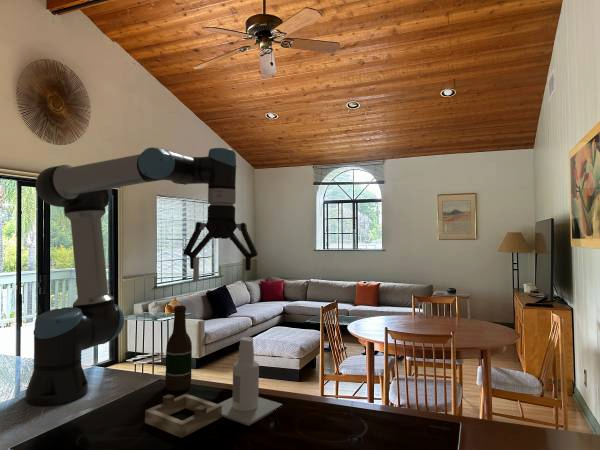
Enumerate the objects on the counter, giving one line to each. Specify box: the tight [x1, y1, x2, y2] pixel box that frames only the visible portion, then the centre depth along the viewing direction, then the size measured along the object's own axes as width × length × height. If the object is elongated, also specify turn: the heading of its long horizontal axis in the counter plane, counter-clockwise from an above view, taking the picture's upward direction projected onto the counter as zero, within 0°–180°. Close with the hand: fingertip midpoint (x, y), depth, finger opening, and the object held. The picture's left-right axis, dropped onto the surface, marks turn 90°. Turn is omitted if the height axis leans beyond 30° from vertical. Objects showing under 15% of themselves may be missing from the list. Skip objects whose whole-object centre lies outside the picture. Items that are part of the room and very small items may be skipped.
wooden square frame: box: [144, 393, 223, 439], centre depth 109 cm, size 14×13×4 cm
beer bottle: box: [164, 305, 193, 392], centre depth 130 cm, size 8×8×24 cm
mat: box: [217, 396, 283, 426], centre depth 116 cm, size 14×14×1 cm
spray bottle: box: [231, 336, 260, 411], centre depth 116 cm, size 7×7×18 cm
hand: (220, 281), depth 121 cm, fingers open, 13 cm apart
